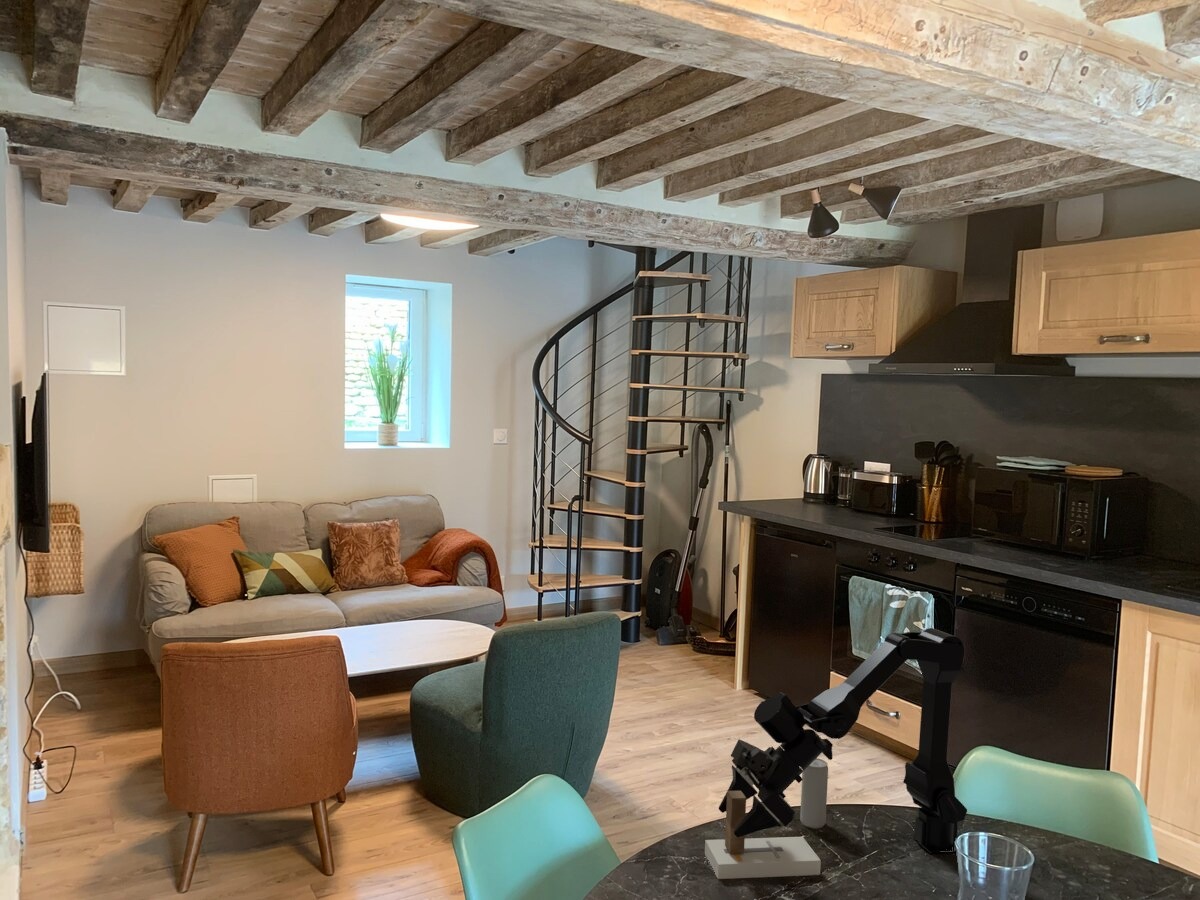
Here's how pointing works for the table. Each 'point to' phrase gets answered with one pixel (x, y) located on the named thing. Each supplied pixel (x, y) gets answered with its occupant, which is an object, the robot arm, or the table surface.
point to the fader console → (763, 858)
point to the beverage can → (814, 794)
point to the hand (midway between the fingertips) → (727, 822)
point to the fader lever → (734, 821)
